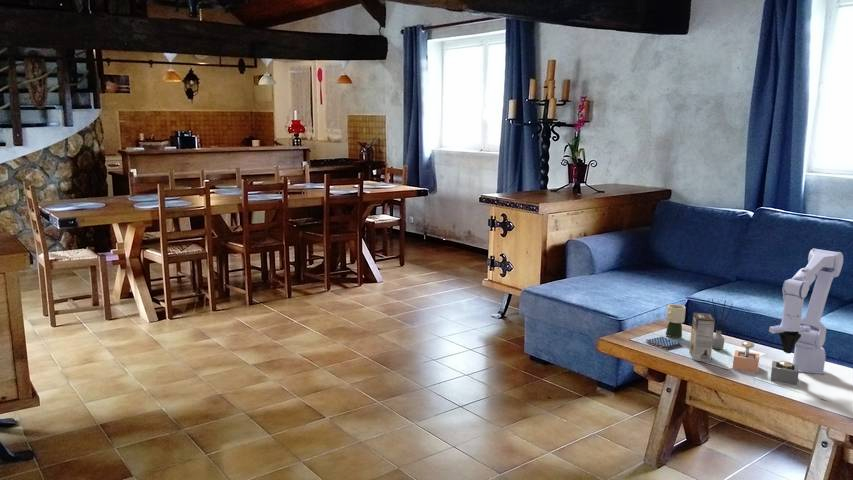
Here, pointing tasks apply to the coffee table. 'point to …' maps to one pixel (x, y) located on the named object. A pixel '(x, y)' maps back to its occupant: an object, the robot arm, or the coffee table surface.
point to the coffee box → (701, 336)
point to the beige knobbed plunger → (785, 364)
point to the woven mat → (664, 343)
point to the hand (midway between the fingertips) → (787, 352)
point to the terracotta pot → (746, 362)
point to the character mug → (675, 320)
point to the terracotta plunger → (747, 349)
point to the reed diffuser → (718, 331)
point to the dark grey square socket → (784, 373)
